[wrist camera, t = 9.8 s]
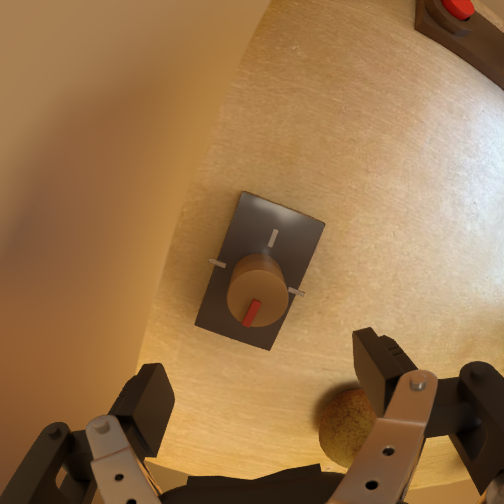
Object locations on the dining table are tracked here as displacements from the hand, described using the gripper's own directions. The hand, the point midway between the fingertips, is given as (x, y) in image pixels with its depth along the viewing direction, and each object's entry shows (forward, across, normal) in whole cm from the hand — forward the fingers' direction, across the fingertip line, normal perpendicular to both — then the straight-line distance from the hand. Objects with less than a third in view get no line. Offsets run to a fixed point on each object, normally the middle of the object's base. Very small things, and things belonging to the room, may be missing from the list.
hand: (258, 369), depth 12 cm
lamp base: (+16, -30, -22) cm, 41 cm away
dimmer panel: (+16, 0, 0) cm, 16 cm away
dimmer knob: (+13, 0, 0) cm, 13 cm away
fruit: (+16, -8, +19) cm, 26 cm away
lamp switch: (+13, -26, -24) cm, 38 cm away
